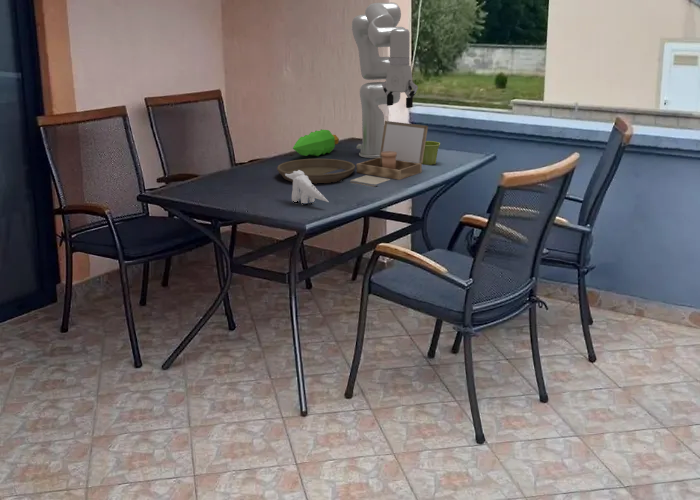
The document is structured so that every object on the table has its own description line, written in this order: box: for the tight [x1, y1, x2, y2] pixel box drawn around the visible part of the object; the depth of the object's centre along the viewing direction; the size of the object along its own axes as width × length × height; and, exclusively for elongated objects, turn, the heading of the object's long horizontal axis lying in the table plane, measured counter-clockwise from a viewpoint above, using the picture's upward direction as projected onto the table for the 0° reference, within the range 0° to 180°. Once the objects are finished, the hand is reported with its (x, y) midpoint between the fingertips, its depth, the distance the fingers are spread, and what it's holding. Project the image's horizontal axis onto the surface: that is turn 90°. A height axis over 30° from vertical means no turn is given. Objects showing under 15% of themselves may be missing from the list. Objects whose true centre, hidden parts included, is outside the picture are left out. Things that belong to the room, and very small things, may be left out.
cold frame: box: [355, 157, 423, 181], centre depth 348 cm, size 21×15×4 cm
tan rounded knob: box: [381, 151, 397, 169], centre depth 347 cm, size 6×6×8 cm
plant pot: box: [420, 140, 441, 166], centre depth 366 cm, size 9×9×9 cm
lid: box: [380, 120, 429, 164], centre depth 352 cm, size 21×15×1 cm
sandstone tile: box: [350, 174, 392, 188], centre depth 337 cm, size 12×10×1 cm
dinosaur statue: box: [285, 170, 330, 204], centre depth 307 cm, size 7×24×11 cm, turn 43°
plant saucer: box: [276, 158, 356, 185], centre depth 348 cm, size 31×31×5 cm
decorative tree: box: [292, 129, 340, 157], centre depth 383 cm, size 11×12×30 cm
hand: (399, 106), depth 341 cm, fingers open, 9 cm apart
